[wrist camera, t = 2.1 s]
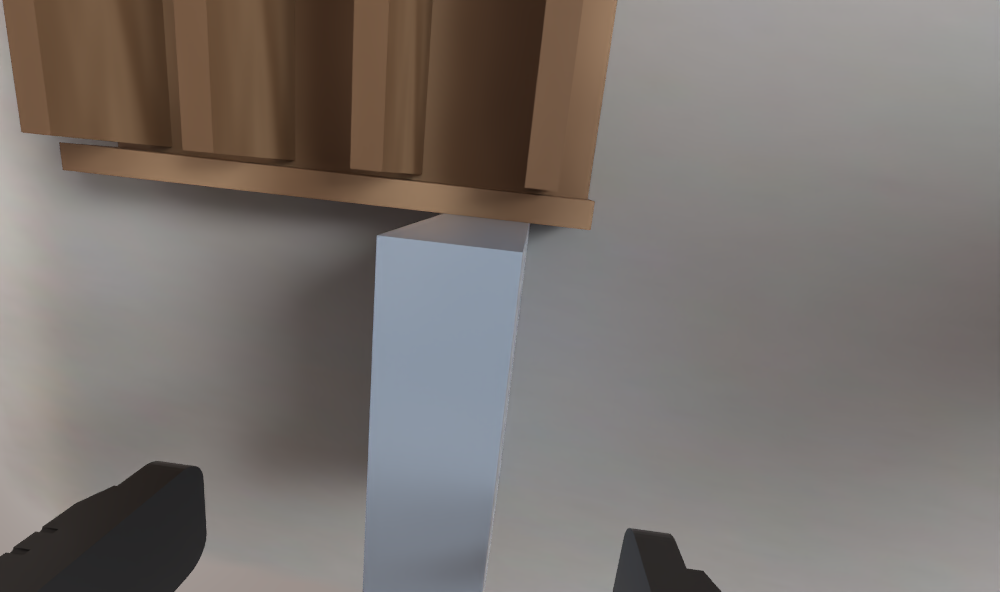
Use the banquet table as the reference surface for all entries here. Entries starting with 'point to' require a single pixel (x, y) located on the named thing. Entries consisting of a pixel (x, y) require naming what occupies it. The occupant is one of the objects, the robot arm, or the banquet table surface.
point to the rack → (327, 97)
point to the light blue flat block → (439, 399)
